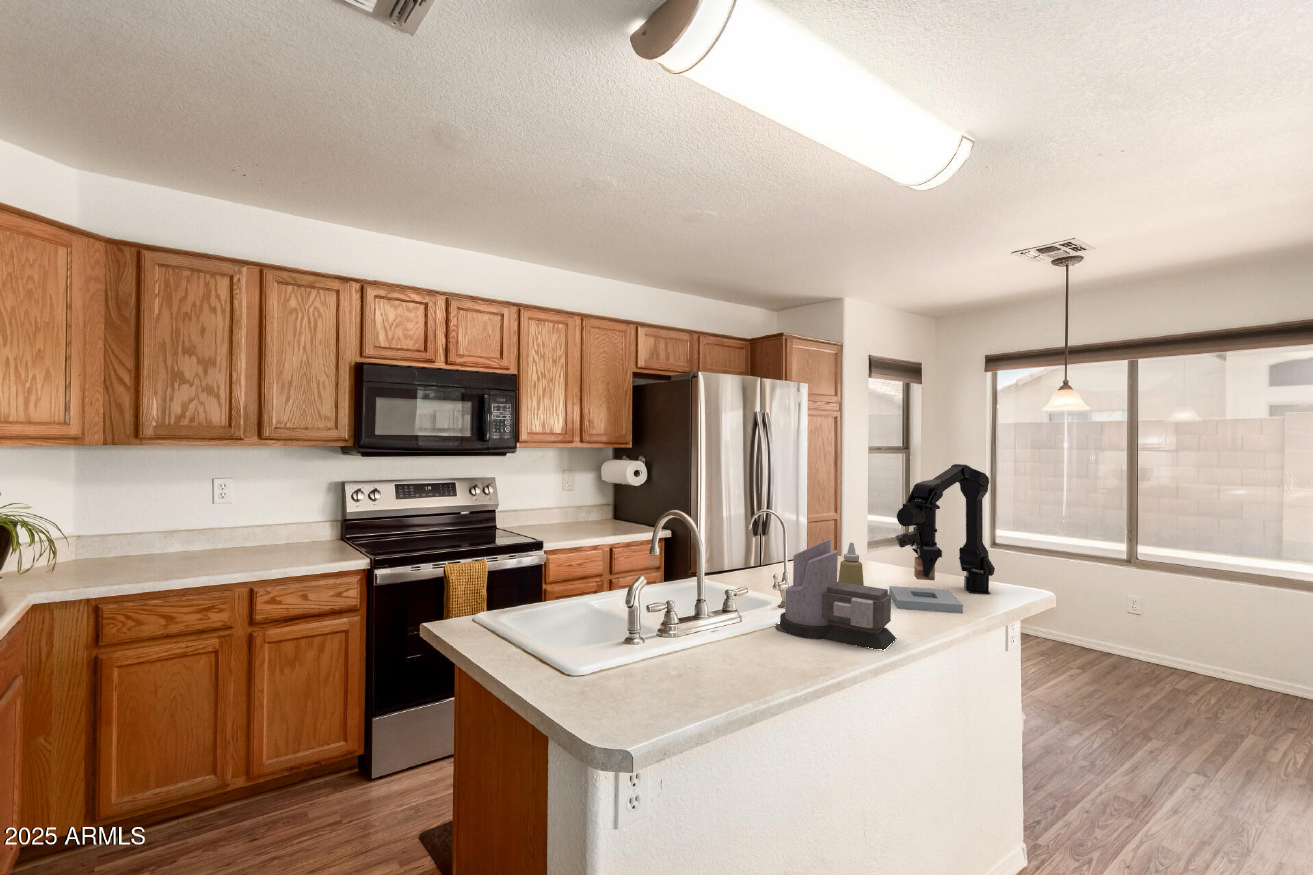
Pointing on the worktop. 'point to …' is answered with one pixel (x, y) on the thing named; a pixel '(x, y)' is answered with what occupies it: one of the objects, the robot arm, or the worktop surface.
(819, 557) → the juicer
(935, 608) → the socket board
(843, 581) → the squeeze bottle
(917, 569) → the brown block
